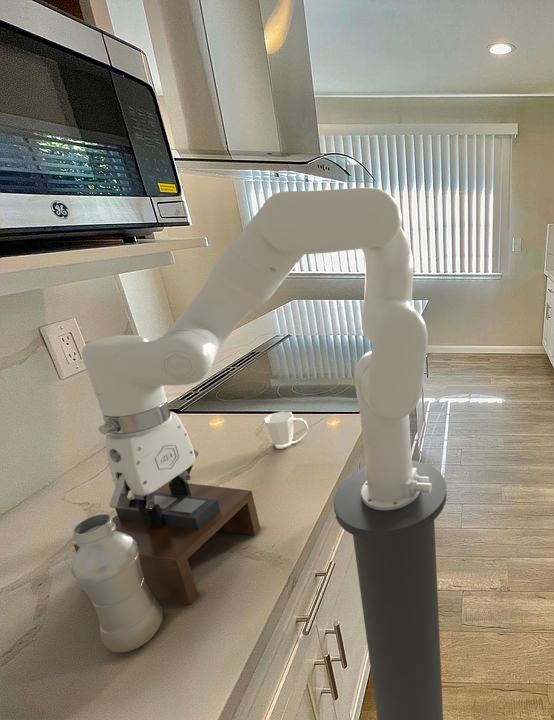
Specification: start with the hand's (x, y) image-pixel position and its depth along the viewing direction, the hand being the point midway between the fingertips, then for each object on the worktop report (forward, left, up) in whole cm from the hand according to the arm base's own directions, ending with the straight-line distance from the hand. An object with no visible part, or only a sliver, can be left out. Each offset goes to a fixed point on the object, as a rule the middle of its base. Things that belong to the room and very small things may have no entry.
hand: (169, 512), depth 66 cm
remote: (0, 0, -1) cm, 1 cm away
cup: (+4, -37, -10) cm, 38 cm away
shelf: (0, 0, -10) cm, 10 cm away
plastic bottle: (-6, +13, -10) cm, 18 cm away
